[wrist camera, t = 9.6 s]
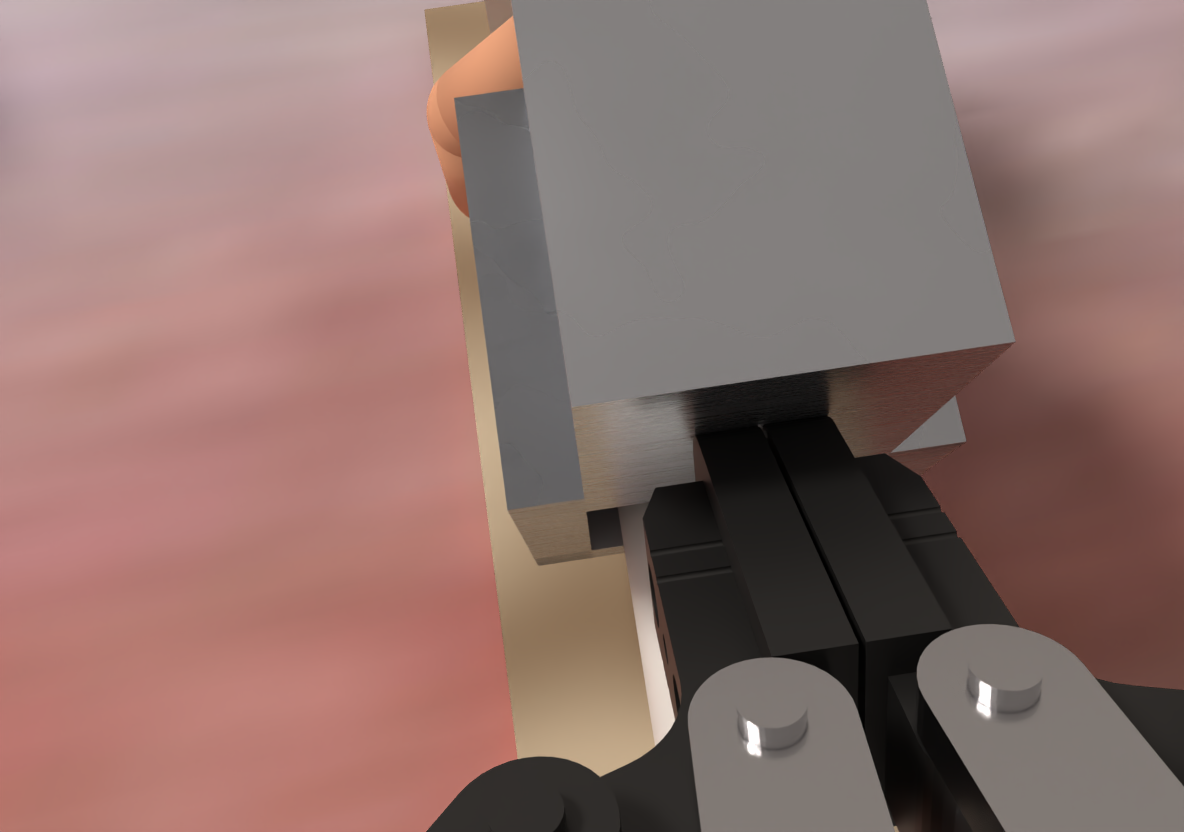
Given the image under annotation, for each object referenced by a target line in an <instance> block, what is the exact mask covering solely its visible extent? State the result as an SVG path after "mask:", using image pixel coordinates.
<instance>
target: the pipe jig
mask: <svg viewBox="0 0 1184 832" xmlns="http://www.w3.org/2000/svg"><path fill="white" fill-rule="evenodd" d="M484 1H485V7H486V12H487V18H488V23H489V29H490V34H491V33H493V32H494V31H495V30H496V29H497V28H499V27H500V26H501V25H502V24H503V23H505V22H506V21H507V20H508V19H509V18H511V17H512V16H513V13H512V6H511V0H484ZM648 504H649V502H648V503H641V504H634V505H628V506H621V507H618V512H619V519H620V525H621V532H622V538H623V544H624V551H625V557H626V564H627V570H628V576H629V583H630V589H631V596H632V602H633V608H634V615H635V621H636V628H637V634H638V640H639V647H640V653H641V660H642V666H643V672H644V679H645V685H646V692H647V698H648V705H649V711H650V717H651V724H652V730H653V737H654V743H655V746H656V745H657V744H658V743H659V742H660V741H661V740H662V739H663V738H664V737H665V735H666V734H667V733H668V731H669V730H670V729H671V727H672V725H673V724H674V722H675V717H674V713H673V708H672V703H671V699H670V693H669V688H668V685H667V680H666V676H665V671H664V666H663V660H662V657H661V652H660V648H659V643H658V638H657V634H656V629H655V623H654V615H653V606H652V597H651V588H650V580H649V571H648V562H647V553H646V545H645V536H644V527H643V519H642V518H643V516H644V514H645V511H646V509H647V506H648Z"/></svg>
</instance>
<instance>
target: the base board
mask: <svg viewBox="0 0 1184 832" xmlns="http://www.w3.org/2000/svg"><path fill="white" fill-rule="evenodd" d="M425 19H426V27H427V35H428V43H429V51H430V59H431V67H432V75H433V83H434V84H435V83H436V81H437V80H438V79H439V78H440V77H441V76H442V75H443V74H444V73H445V72H446V71H447V70H448V69H449V68H451V67H452V66H453V65H454V64H455V63H457V62H458V61H459V60H460V59H461V58H463V57H464V56H465V55H466V54H467V53H469V52H470V51H471V50H472V49H473V48H475V47H476V46H477V45H478V44H479V43H481V42H482V41H483V40H484V39H485V38H487V37H488V36H489V35H490V29H489V23H488V18H487V12H486V7H485V1H483V2H476V3H469V4H461V5H454V6H447V7H440V8H433V9H426V10H425ZM446 187H447V195H448V203H449V211H450V219H451V227H452V235H453V243H454V251H455V259H456V267H457V275H458V283H459V291H460V299H461V307H462V315H463V323H464V331H465V339H466V347H467V355H468V363H469V371H470V379H471V387H472V395H473V403H474V411H475V419H476V427H477V435H478V443H479V451H480V459H481V467H482V475H483V483H484V491H485V499H486V507H487V516H488V524H489V532H490V540H491V548H492V556H493V564H494V572H495V580H496V588H497V596H498V604H499V612H500V620H501V628H502V636H503V644H504V652H505V660H506V668H507V676H508V684H509V692H510V700H511V708H512V716H513V724H514V732H515V740H516V748H517V756H518V759H521V758H527V757H536V756H545V757H557V758H563V759H568V760H571V761H574V762H577V763H579V764H581V765H583V766H585V767H587V768H589V769H591V770H592V771H593V772H595V773H596V774H597V775H598V776H600V777H601V776H603V775H605V774H607V773H609V772H612V771H614V770H616V769H618V768H620V767H623V766H625V765H627V764H629V763H631V762H632V761H634V760H636V759H638V758H640V757H642V756H643V755H644V754H646V753H647V752H648V751H650V750H651V749H653V748H654V747H655V743H654V737H653V730H652V724H651V717H650V711H649V705H648V698H647V692H646V685H645V679H644V672H643V666H642V660H641V653H640V647H639V640H638V634H637V628H636V621H635V615H634V608H633V602H632V596H631V589H630V583H629V576H628V570H627V564H626V557H625V553H621V554H615V555H608V556H601V557H595V558H588V559H581V560H575V561H568V562H561V563H555V564H548V565H541V566H538V564H537V563H536V561H535V559H534V557H533V555H532V554H531V552H530V550H529V548H528V546H527V545H526V543H525V541H524V539H523V537H522V536H521V534H520V532H519V530H518V528H517V527H516V525H515V523H514V521H513V519H512V518H511V516H510V514H509V512H508V510H507V503H506V496H505V488H504V480H503V473H502V465H501V457H500V449H499V442H498V434H497V426H496V419H495V411H494V403H493V395H492V388H491V380H490V372H489V365H488V357H487V349H486V341H485V334H484V326H483V318H482V311H481V303H480V295H479V287H478V280H477V272H476V264H475V257H474V249H473V241H472V233H471V226H470V218H468V217H467V216H465V215H464V214H463V213H462V212H461V211H460V210H459V209H458V207H457V206H456V205H455V203H454V201H453V199H452V197H451V195H450V192H449V189H448V186H447V183H446ZM893 827H894V830H895V832H899V831H898V828H897V826H893Z"/></svg>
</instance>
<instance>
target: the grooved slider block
mask: <svg viewBox="0 0 1184 832" xmlns="http://www.w3.org/2000/svg"><path fill="white" fill-rule="evenodd" d="M511 6H512V13H513V20H514V26H515V33H516V40H517V47H518V54H519V61H520V68H521V74H522V81H523V88H520V89H513V90H506V91H499V92H492V93H485V94H478V95H471V96H464V97H457V98H454V102H455V110H456V118H457V125H458V133H459V141H460V149H461V156H462V164H463V172H464V179H465V187H466V195H467V203H468V210H469V218H470V226H471V233H472V241H473V249H474V257H475V264H476V272H477V280H478V287H479V295H480V303H481V311H482V318H483V326H484V334H485V341H486V349H487V357H488V365H489V372H490V380H491V388H492V395H493V403H494V411H495V419H496V426H497V434H498V442H499V449H500V457H501V465H502V473H503V480H504V488H505V496H506V503H507V510H508V512H509V514H510V516H511V518H512V519H513V521H514V523H515V525H516V527H517V528H518V530H519V532H520V534H521V536H522V537H523V539H524V541H525V543H526V545H527V546H528V548H529V550H530V552H531V554H532V555H533V557H534V559H535V561H536V563H537V564H538V566H541V565H548V564H555V563H561V562H568V561H575V560H581V559H588V558H595V557H601V556H608V555H615V554H621V553H625V551H624V544H623V538H622V532H621V525H620V519H619V512H618V507H621V506H628V505H634V504H641V503H648V502H649V501H650V499H651V497H652V494H653V492H654V489H655V488H657V487H664V486H670V485H677V484H684V483H690V482H695V470H694V458H693V439H694V436H700V435H706V434H713V433H720V432H727V431H733V430H740V429H747V428H753V427H760V428H761V429H762V428H763V427H764V426H765V425H772V424H779V423H785V422H792V421H799V420H806V419H812V418H819V417H826V416H829V417H831V418H832V419H833V421H834V422H835V424H836V426H837V428H838V429H839V431H840V433H841V435H842V436H843V438H844V440H845V442H846V443H847V445H848V447H849V448H850V450H851V452H852V454H853V455H854V457H855V458H856V457H862V456H869V455H876V454H883V453H885V454H887V455H888V456H890V457H892V458H893V459H895V460H896V461H898V462H899V463H901V464H902V465H904V466H905V467H907V468H909V469H910V470H912V471H913V472H915V473H916V474H918V475H919V476H920V475H921V474H923V473H924V472H925V471H927V470H928V469H929V468H931V467H932V466H934V465H935V464H936V463H938V462H939V461H940V460H942V459H943V458H945V457H946V456H947V455H949V454H950V453H951V452H953V451H954V450H956V449H957V448H958V447H960V446H961V445H962V444H964V443H965V442H966V438H965V434H964V429H963V425H962V421H961V417H960V413H959V409H958V405H957V401H956V397H955V395H956V394H957V393H958V392H959V391H961V390H962V389H963V388H964V387H965V386H966V385H967V384H968V383H970V382H971V381H972V380H973V379H974V378H975V377H976V376H977V375H979V374H980V373H981V372H982V371H983V370H984V369H985V368H986V367H988V366H989V365H990V364H991V363H992V362H993V361H994V360H995V359H997V358H998V357H999V356H1000V355H1001V354H1002V353H1003V352H1004V351H1006V350H1007V349H1008V348H1009V347H1010V346H1011V345H1012V344H1013V343H1015V338H1014V334H1013V330H1012V327H1011V323H1010V319H1009V315H1008V311H1007V307H1006V304H1005V300H1004V296H1003V292H1002V288H1001V284H1000V281H999V277H998V273H997V269H996V265H995V261H994V258H993V254H992V250H991V246H990V242H989V239H988V235H987V231H986V227H985V223H984V219H983V216H982V212H981V208H980V204H979V200H978V196H977V193H976V189H975V185H974V181H973V177H972V173H971V170H970V166H969V162H968V158H967V154H966V150H965V147H964V143H963V139H962V135H961V131H960V128H959V124H958V120H957V116H956V112H955V108H954V105H953V101H952V97H951V93H950V89H949V85H948V82H947V78H946V74H945V70H944V66H943V62H942V59H941V55H940V51H939V47H938V43H937V40H936V36H935V32H934V28H933V24H932V20H931V17H930V13H929V9H928V5H927V1H926V0H511Z"/></svg>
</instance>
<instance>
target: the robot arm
mask: <svg viewBox="0 0 1184 832" xmlns="http://www.w3.org/2000/svg"><path fill="white" fill-rule="evenodd" d="M693 458H694V470H695V482H690V483H684V484H677V485H670V486H664V487H657V488H655V489H654V492H653V494H652V497H651V499H650V501H649V504H648V506H647V509H646V511H645V514H644V516H643V518H642V519H643V527H644V536H645V545H646V553H647V562H648V571H649V580H650V588H651V597H652V606H653V615H654V623H655V629H656V634H657V638H658V643H659V648H660V652H661V657H662V660H663V666H664V671H665V676H666V680H667V685H668V688H669V693H670V699H671V703H672V708H673V713H674V717H675V722H674V724H673V725H672V727H671V729H670V730H669V731H668V733H667V734H666V735H665V737H664V738H663V739H662V740H661V741H660V742H659V743H658V744H657V745H656V746H655V747H654V748H653V749H651V750H650V751H648V752H647V753H646V754H644V755H643V756H642V757H640V758H638V759H636V760H634V761H632V762H631V763H629V764H627V765H625V766H623V767H620V768H618V769H616V770H614V771H612V772H609V773H607V774H605V775H603V776H601V777H600V776H598V775H597V774H596V773H595V772H593V771H592V770H591V769H589V768H587V767H585V766H583V765H581V764H579V763H577V762H574V761H571V760H568V759H563V758H557V757H545V756H536V757H527V758H521V759H517V760H513V761H509V762H506V763H504V764H501V765H499V766H496V767H494V768H492V769H490V770H488V771H487V772H485V773H483V774H481V775H480V776H479V777H477V778H476V779H475V780H473V781H472V782H471V783H469V784H468V785H467V786H466V787H465V788H464V789H463V790H462V791H461V792H460V793H459V794H458V795H457V797H456V798H455V799H454V800H453V801H452V802H451V804H450V805H449V806H448V807H447V808H446V809H445V811H444V812H443V813H442V814H441V815H440V816H439V817H438V819H437V820H436V821H435V822H434V823H433V824H432V826H431V827H430V828H429V829H428V830H427V831H426V832H895V830H894V827H893V826H897V828H898V831H899V832H1184V690H1176V689H1165V688H1154V687H1143V686H1132V685H1125V684H1118V683H1112V682H1108V681H1104V680H1100V679H1096V678H1094V676H1093V675H1092V674H1091V673H1090V672H1089V670H1088V669H1087V668H1086V667H1085V665H1084V664H1083V663H1082V662H1081V661H1080V660H1079V659H1078V658H1077V657H1076V656H1075V655H1074V654H1073V653H1072V652H1070V651H1069V650H1068V649H1066V648H1065V647H1064V646H1062V645H1061V644H1059V643H1057V642H1056V641H1054V640H1052V639H1050V638H1048V637H1046V636H1043V635H1041V634H1039V633H1036V632H1033V631H1030V630H1027V629H1023V628H1020V627H1019V626H1018V624H1017V623H1016V621H1015V620H1014V618H1013V617H1012V615H1011V614H1010V612H1009V611H1008V609H1007V608H1006V606H1005V605H1004V603H1003V601H1002V600H1001V598H1000V597H999V595H998V594H997V592H996V591H995V589H994V588H993V586H992V585H991V583H990V582H989V580H988V579H987V577H986V575H985V574H984V572H983V571H982V569H981V568H980V566H979V565H978V563H977V562H976V560H975V559H974V557H973V556H972V554H971V553H970V551H969V549H968V548H967V546H966V545H965V543H964V542H963V540H962V539H961V538H958V537H957V531H956V530H955V528H954V527H953V525H952V523H951V522H950V520H949V519H948V517H947V516H946V514H945V513H944V512H943V513H941V509H940V505H939V504H938V502H937V501H936V499H935V497H934V496H933V494H932V493H931V491H930V490H929V488H928V487H927V485H926V484H925V482H924V481H923V479H922V478H921V476H919V475H918V474H916V473H915V472H913V471H912V470H910V469H909V468H907V467H905V466H904V465H902V464H901V463H899V462H898V461H896V460H895V459H893V458H892V457H890V456H888V455H887V454H885V453H883V454H876V455H869V456H862V457H856V458H855V457H854V455H853V454H852V452H851V450H850V448H849V447H848V445H847V443H846V442H845V440H844V438H843V436H842V435H841V433H840V431H839V429H838V428H837V426H836V424H835V422H834V421H833V419H832V418H831V417H829V416H826V417H819V418H812V419H806V420H799V421H792V422H785V423H779V424H772V425H765V426H764V427H763V428H762V429H761V428H760V427H753V428H747V429H740V430H733V431H727V432H720V433H713V434H706V435H700V436H694V439H693Z"/></svg>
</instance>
